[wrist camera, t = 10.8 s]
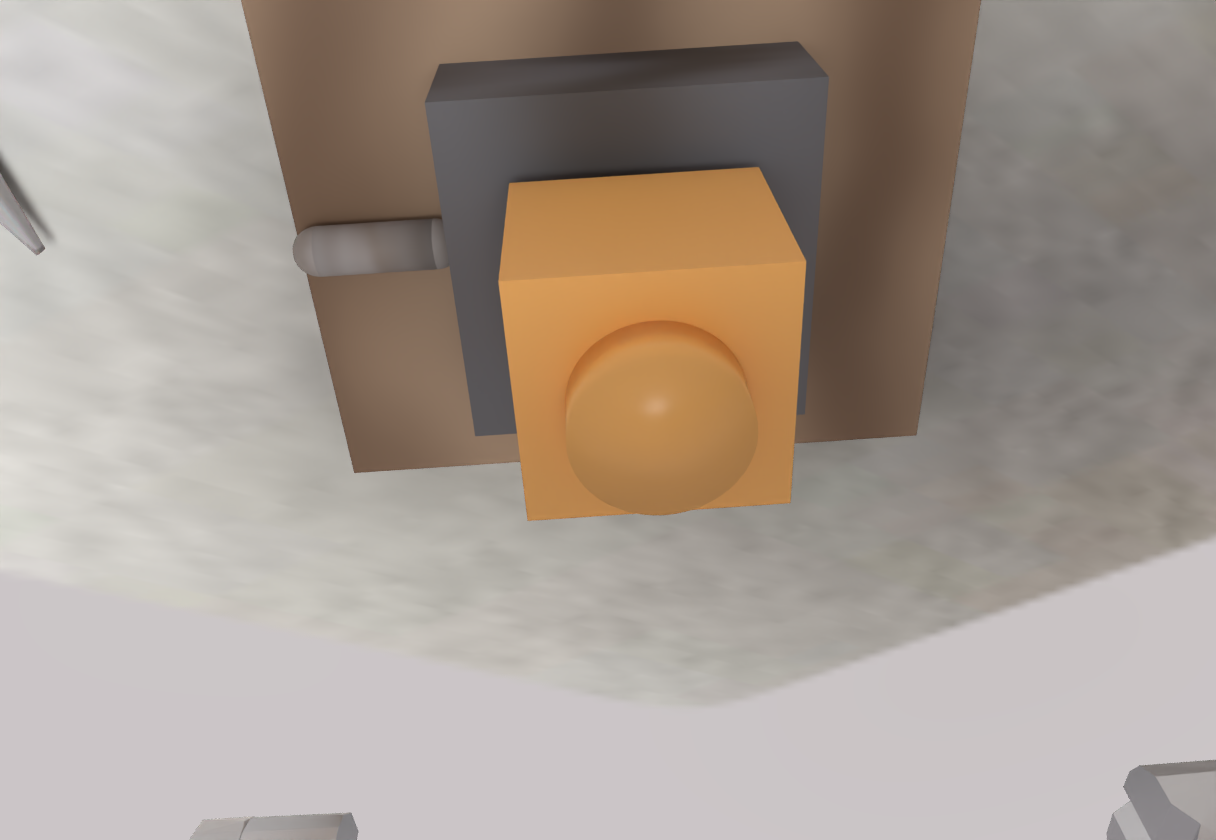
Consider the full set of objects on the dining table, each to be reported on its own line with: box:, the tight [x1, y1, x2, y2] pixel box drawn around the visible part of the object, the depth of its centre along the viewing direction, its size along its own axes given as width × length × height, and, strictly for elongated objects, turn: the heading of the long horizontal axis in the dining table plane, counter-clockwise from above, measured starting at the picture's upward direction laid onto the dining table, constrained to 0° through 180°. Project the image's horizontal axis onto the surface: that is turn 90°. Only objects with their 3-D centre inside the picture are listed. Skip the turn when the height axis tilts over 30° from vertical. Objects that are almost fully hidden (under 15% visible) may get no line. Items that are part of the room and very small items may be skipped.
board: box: [241, 0, 981, 473], centre depth 22 cm, size 16×14×10 cm
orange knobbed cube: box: [498, 167, 806, 521], centre depth 19 cm, size 5×5×6 cm
